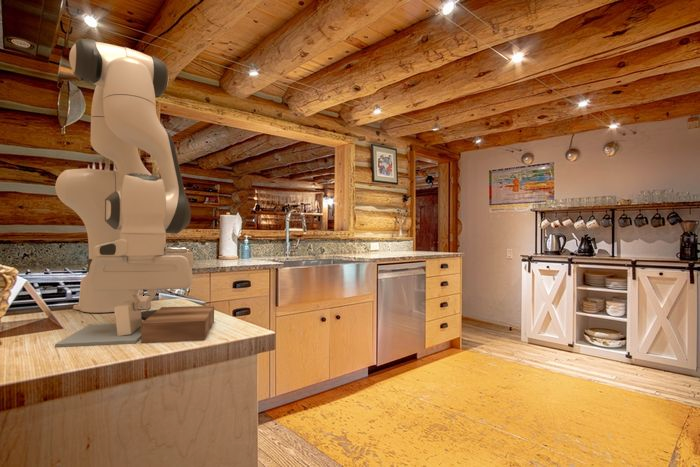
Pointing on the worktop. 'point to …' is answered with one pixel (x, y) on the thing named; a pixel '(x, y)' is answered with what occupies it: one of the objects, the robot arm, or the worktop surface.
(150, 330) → the brown flat wooden block
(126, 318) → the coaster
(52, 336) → the worktop surface
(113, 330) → the mat
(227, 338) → the worktop surface
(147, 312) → the smartphone
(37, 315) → the worktop surface
